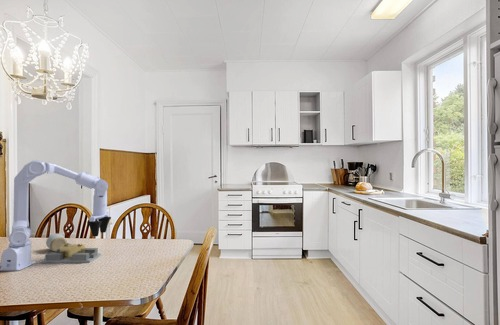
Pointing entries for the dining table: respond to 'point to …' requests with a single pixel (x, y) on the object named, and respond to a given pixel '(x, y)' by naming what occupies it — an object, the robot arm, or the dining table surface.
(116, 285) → the dining table surface
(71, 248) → the link
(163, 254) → the dining table surface
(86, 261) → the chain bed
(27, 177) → the robot arm
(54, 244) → the ceramic mug
